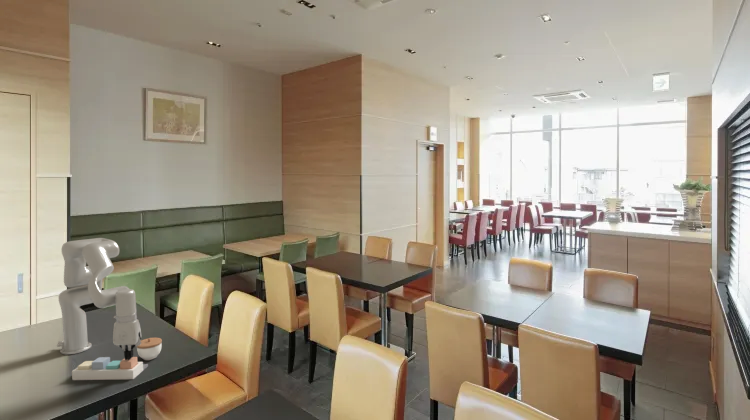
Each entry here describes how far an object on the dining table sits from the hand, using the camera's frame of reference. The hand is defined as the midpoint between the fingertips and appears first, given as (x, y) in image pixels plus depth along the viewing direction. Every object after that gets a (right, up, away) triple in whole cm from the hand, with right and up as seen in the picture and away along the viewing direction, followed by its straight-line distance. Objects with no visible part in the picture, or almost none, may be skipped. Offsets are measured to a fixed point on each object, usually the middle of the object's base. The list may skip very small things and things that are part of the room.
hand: (129, 358), depth 173 cm
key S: (-12, -6, 0) cm, 14 cm away
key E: (-18, -7, 0) cm, 20 cm away
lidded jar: (-1, -6, +18) cm, 19 cm away
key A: (0, -6, +1) cm, 6 cm away
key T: (-6, -7, +1) cm, 10 cm away
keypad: (-9, -7, +2) cm, 12 cm away
